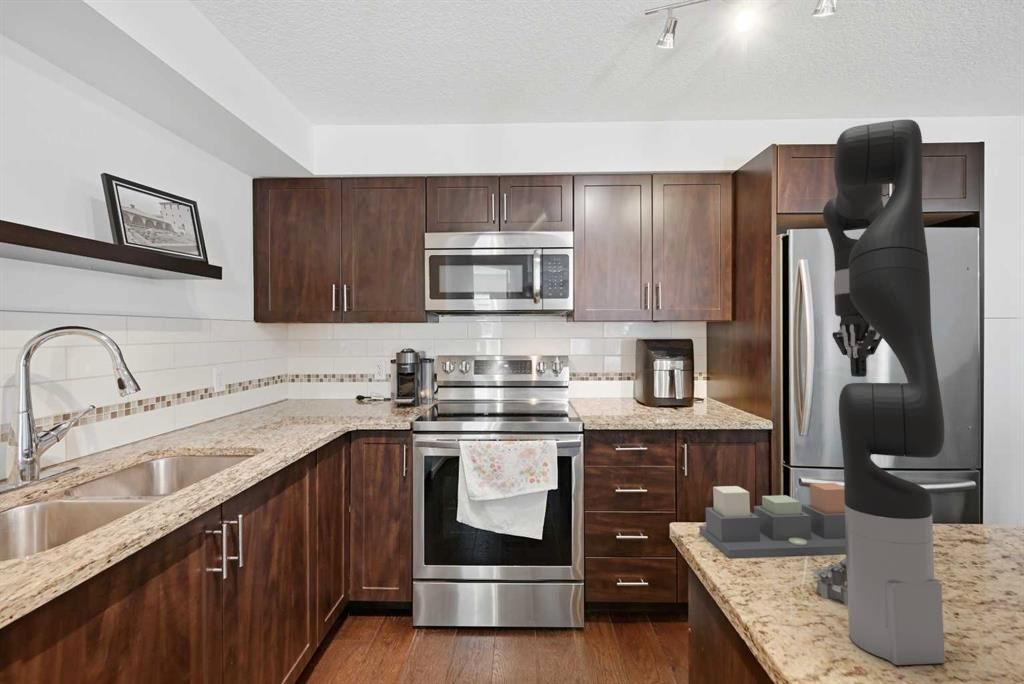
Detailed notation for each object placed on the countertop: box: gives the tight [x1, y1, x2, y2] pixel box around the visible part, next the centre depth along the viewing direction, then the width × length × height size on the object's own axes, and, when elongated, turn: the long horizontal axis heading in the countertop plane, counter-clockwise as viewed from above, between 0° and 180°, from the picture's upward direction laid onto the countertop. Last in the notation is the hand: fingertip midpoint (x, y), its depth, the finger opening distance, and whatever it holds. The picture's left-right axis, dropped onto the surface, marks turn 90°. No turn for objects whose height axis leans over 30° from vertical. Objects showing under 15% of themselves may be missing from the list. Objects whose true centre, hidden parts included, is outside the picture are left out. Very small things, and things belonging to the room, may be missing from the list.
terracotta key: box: [809, 482, 845, 514], centre depth 107 cm, size 5×5×6 cm
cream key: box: [712, 485, 751, 517], centre depth 106 cm, size 5×5×6 cm
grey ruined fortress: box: [812, 557, 848, 607], centre depth 83 cm, size 11×8×4 cm
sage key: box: [761, 494, 802, 516], centre depth 106 cm, size 5×5×6 cm
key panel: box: [698, 503, 846, 559], centre depth 106 cm, size 14×28×6 cm, turn 92°
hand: (858, 376), depth 110 cm, fingers closed
